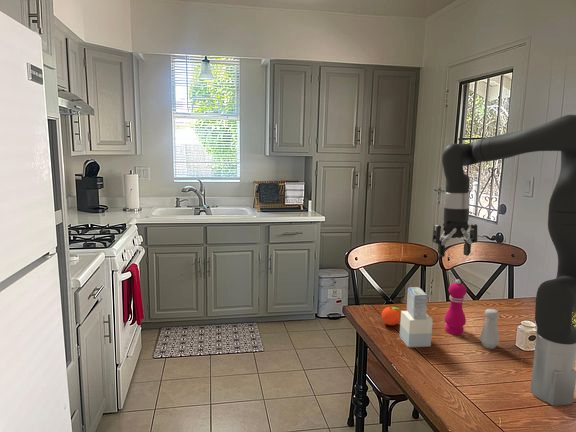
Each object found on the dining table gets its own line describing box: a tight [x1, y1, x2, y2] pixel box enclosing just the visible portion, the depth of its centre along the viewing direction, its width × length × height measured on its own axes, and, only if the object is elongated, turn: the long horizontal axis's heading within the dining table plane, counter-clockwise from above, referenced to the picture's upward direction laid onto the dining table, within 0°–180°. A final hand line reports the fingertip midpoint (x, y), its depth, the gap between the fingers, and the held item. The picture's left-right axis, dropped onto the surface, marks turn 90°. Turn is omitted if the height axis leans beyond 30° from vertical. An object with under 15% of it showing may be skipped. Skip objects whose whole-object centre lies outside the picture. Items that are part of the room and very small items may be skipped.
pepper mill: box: [444, 279, 467, 336], centre depth 148 cm, size 7×7×20 cm
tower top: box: [399, 310, 434, 334], centre depth 141 cm, size 8×8×5 cm
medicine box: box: [406, 286, 428, 319], centre depth 140 cm, size 8×4×9 cm, turn 1°
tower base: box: [399, 323, 433, 348], centre depth 142 cm, size 8×8×5 cm
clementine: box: [381, 306, 401, 326], centre depth 155 cm, size 8×7×7 cm
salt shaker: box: [479, 308, 500, 350], centre depth 138 cm, size 6×6×13 cm
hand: (454, 255), depth 132 cm, fingers open, 8 cm apart
